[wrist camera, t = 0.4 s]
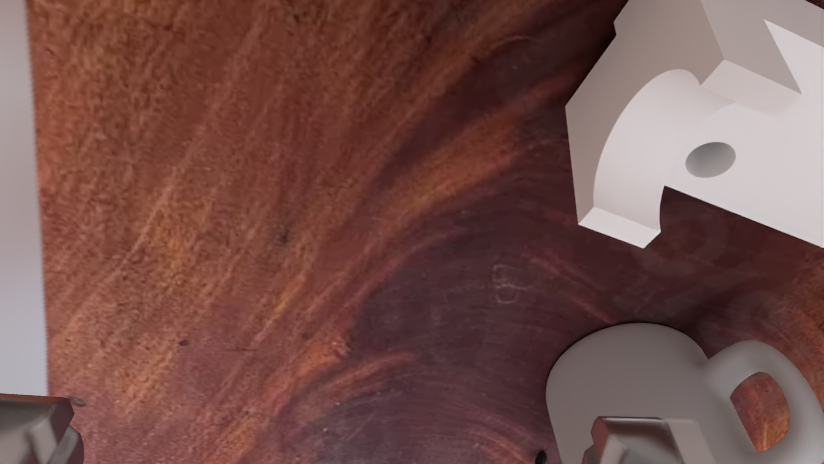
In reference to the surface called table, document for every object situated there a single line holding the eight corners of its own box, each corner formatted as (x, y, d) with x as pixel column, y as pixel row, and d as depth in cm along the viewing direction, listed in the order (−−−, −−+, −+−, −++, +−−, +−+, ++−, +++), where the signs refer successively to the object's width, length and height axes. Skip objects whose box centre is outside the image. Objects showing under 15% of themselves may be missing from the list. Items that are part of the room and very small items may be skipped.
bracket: (563, 92, 28) (578, 224, 23) (673, -65, 23) (724, 59, 18) (813, 195, 31) (875, 333, 26) (958, 75, 26) (1072, 217, 21)
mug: (625, 456, 39) (694, 660, 30) (511, 397, 37) (548, 601, 27) (796, 324, 34) (943, 523, 25) (678, 244, 31) (794, 433, 22)
